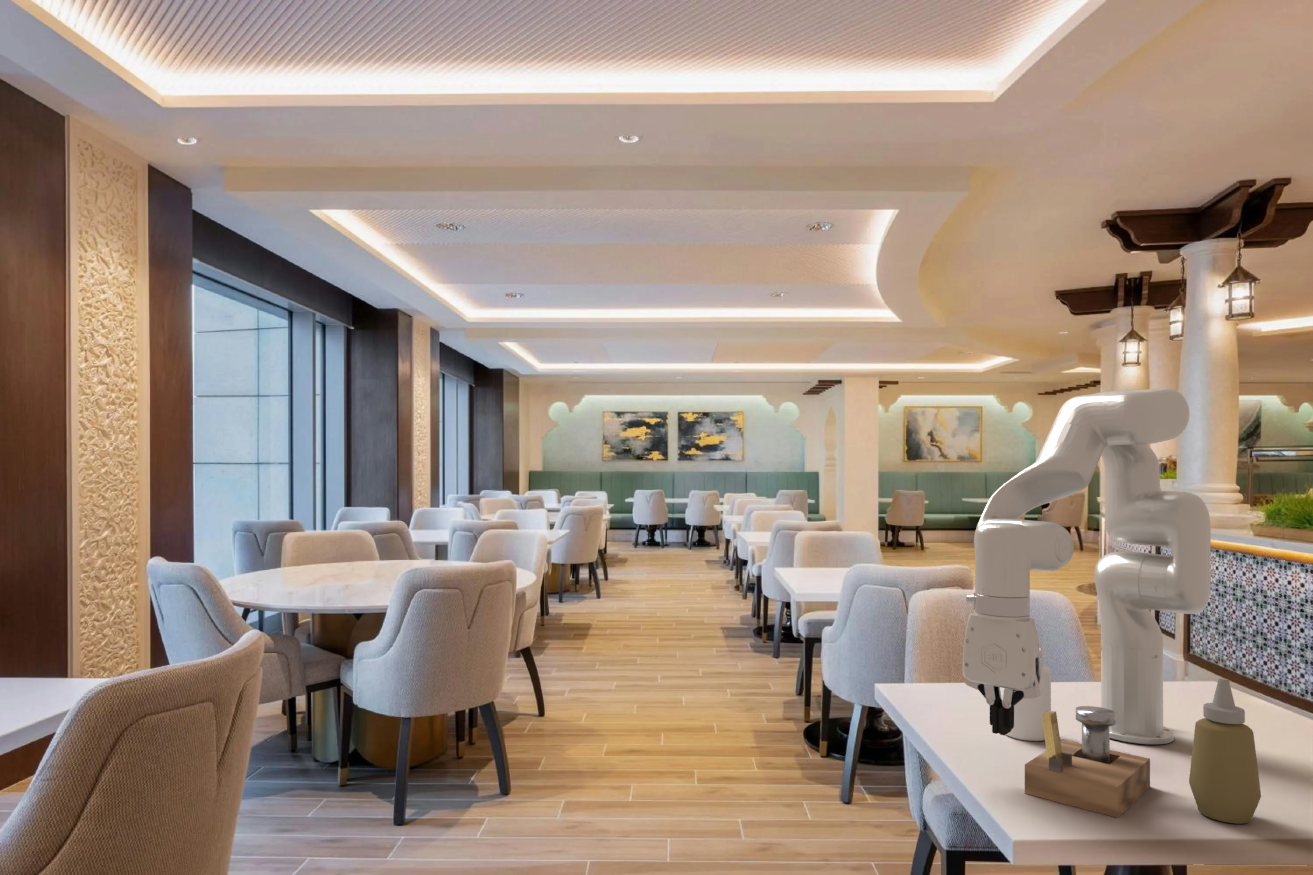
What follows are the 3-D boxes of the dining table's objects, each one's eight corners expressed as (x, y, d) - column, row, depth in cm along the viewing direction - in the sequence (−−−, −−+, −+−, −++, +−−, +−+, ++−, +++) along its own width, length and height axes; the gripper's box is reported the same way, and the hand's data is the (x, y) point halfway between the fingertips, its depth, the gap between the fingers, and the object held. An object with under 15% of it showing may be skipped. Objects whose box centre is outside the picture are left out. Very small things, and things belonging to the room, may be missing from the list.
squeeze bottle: (1174, 804, 118) (1174, 672, 119) (1230, 803, 119) (1229, 672, 119) (1218, 829, 110) (1217, 687, 111) (1277, 828, 111) (1276, 687, 111)
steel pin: (1082, 774, 129) (1082, 703, 130) (1120, 783, 126) (1119, 710, 126) (1071, 783, 126) (1070, 710, 126) (1110, 792, 122) (1109, 717, 123)
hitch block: (1063, 765, 133) (1063, 729, 133) (1150, 786, 125) (1149, 747, 125) (1024, 792, 121) (1024, 752, 122) (1117, 817, 113) (1117, 774, 113)
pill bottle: (990, 730, 151) (990, 644, 151) (1025, 725, 154) (1025, 641, 154) (1026, 744, 143) (1026, 653, 144) (1061, 739, 147) (1061, 650, 147)
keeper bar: (1063, 762, 122) (1054, 761, 122) (1056, 711, 122) (1047, 710, 123) (1057, 766, 120) (1048, 765, 121) (1050, 714, 121) (1041, 714, 122)
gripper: (942, 603, 129) (941, 726, 129) (1045, 616, 119) (1045, 750, 119) (963, 598, 135) (963, 716, 134) (1063, 610, 125) (1064, 738, 124)
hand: (1001, 731), depth 126 cm, fingers closed
